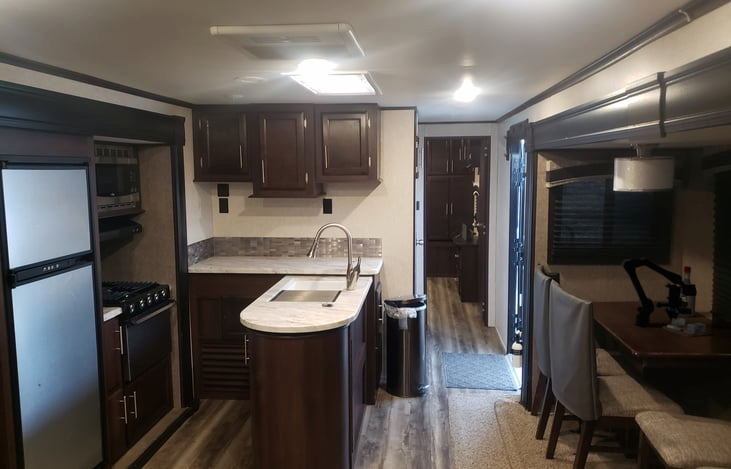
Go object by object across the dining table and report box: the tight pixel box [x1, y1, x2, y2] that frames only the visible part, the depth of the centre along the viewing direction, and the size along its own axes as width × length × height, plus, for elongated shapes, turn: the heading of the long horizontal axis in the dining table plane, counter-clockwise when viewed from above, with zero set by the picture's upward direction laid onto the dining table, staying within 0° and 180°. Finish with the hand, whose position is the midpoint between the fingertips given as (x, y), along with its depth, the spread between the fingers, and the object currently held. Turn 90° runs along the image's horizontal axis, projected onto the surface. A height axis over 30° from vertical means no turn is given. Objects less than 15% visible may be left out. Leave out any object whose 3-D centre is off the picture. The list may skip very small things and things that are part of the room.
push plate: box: [667, 317, 686, 327], centre depth 293 cm, size 10×3×4 cm, turn 107°
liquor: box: [677, 265, 697, 318], centre depth 321 cm, size 9×9×30 cm
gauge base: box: [662, 322, 709, 338], centre depth 288 cm, size 14×16×6 cm
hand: (672, 322), depth 297 cm, fingers closed
